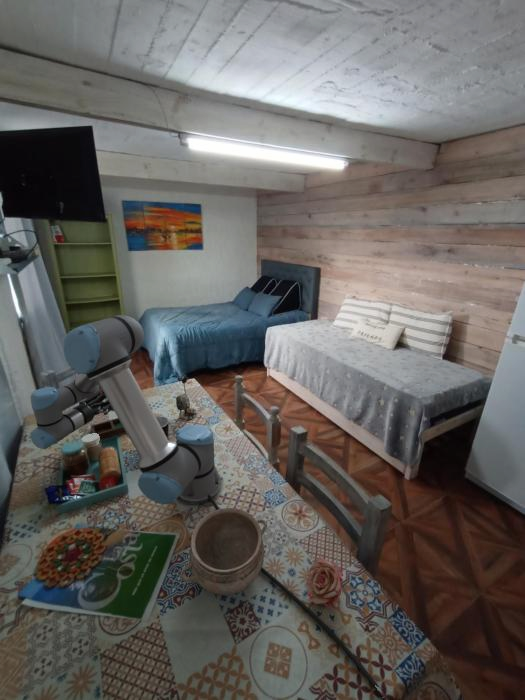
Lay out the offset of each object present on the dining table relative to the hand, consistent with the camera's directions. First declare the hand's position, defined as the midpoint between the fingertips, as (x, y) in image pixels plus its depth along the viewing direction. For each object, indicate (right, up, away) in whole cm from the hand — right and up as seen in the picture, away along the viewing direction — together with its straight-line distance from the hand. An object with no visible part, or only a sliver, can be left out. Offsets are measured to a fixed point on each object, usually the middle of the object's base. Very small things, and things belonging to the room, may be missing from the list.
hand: (124, 389), depth 137 cm
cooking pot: (+51, -41, -54) cm, 85 cm away
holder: (-5, -18, +1) cm, 19 cm away
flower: (+75, -43, -59) cm, 105 cm away
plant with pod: (+24, -14, +13) cm, 31 cm away
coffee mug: (+18, -21, -4) cm, 28 cm away
